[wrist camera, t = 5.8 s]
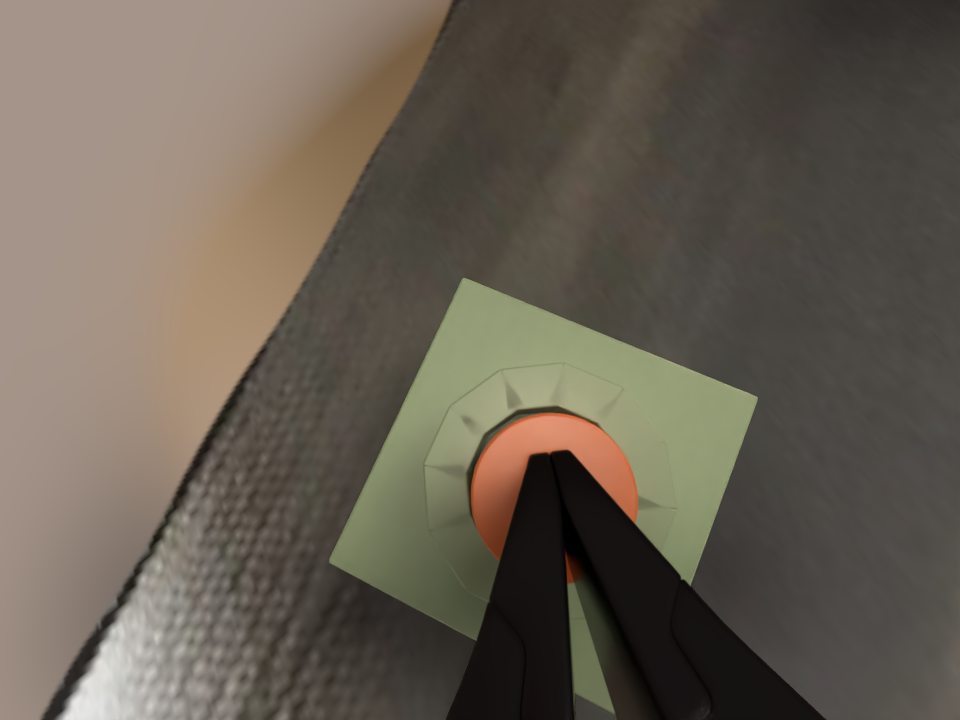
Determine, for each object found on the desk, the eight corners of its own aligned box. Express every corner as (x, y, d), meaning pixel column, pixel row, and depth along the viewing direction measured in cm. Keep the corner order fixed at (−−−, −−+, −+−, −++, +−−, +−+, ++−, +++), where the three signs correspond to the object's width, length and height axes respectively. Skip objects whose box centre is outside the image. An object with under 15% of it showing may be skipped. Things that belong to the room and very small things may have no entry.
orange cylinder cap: (583, 580, 12) (600, 617, 9) (457, 518, 12) (443, 538, 10) (633, 451, 12) (664, 454, 10) (511, 397, 13) (510, 386, 10)
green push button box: (600, 636, 18) (662, 783, 10) (383, 526, 20) (295, 582, 12) (686, 410, 20) (800, 389, 12) (477, 322, 21) (454, 251, 13)
